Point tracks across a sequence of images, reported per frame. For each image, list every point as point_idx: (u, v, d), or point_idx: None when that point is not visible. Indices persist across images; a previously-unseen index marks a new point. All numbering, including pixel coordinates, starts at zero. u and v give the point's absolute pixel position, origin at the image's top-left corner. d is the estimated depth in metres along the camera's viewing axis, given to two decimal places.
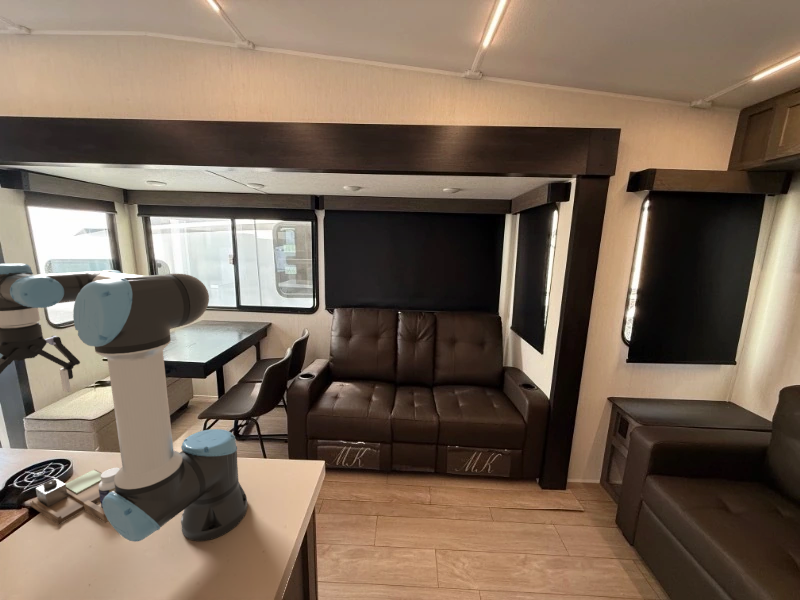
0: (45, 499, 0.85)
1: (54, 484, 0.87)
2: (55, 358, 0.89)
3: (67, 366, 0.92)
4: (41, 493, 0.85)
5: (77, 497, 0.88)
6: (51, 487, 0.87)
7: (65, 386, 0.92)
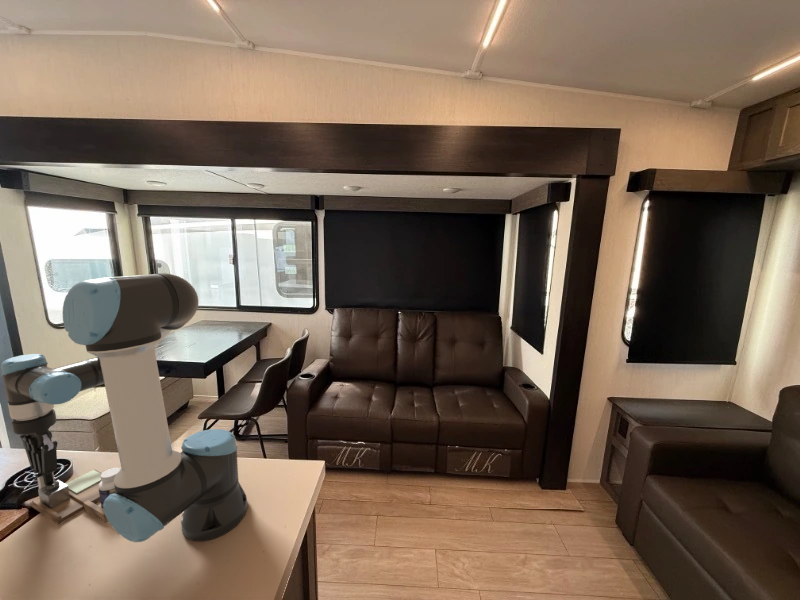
0: (48, 501, 0.85)
1: (57, 485, 0.87)
2: (38, 460, 0.85)
3: (39, 472, 0.86)
4: (44, 495, 0.85)
5: (77, 497, 0.88)
6: (54, 488, 0.86)
7: None
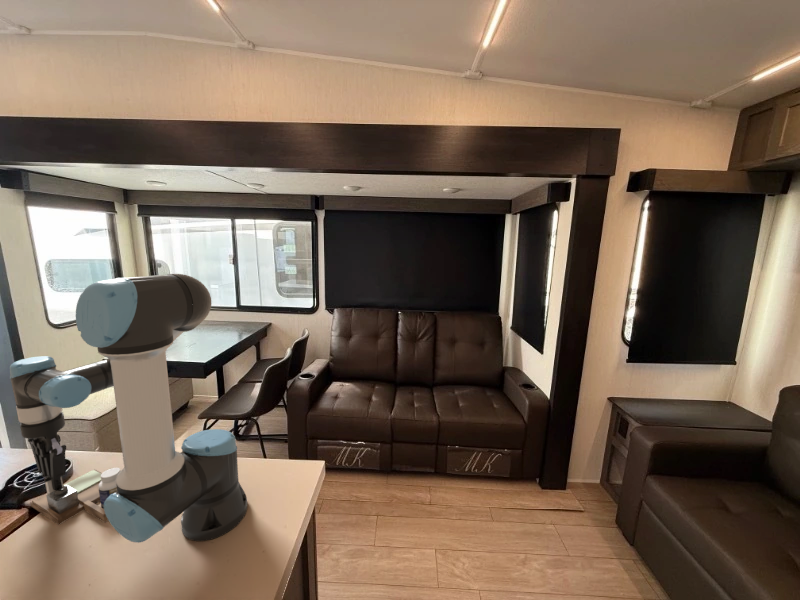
0: (56, 506, 0.83)
1: (65, 491, 0.85)
2: (46, 464, 0.83)
3: (48, 476, 0.84)
4: (52, 500, 0.83)
5: None
6: (62, 494, 0.85)
7: None
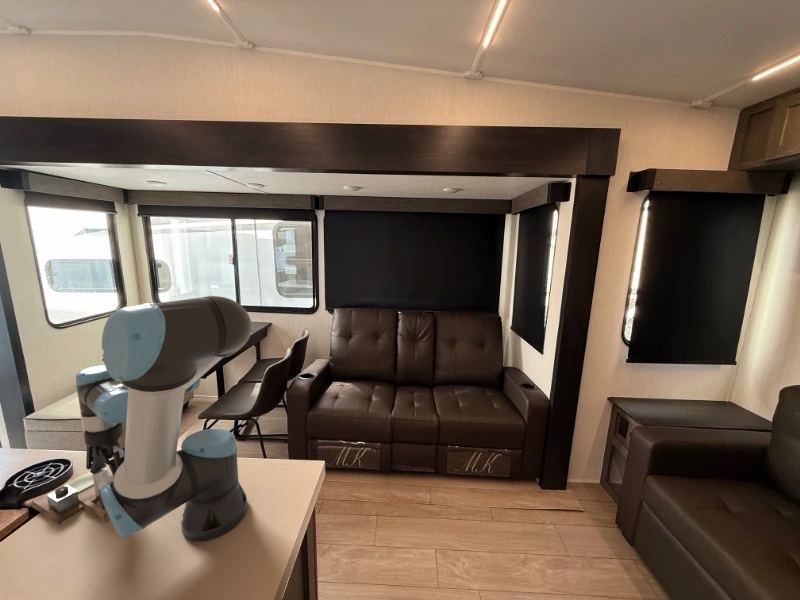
0: (57, 506, 0.83)
1: (66, 491, 0.85)
2: (112, 471, 0.84)
3: None
4: (52, 500, 0.83)
5: None
6: (63, 494, 0.84)
7: None
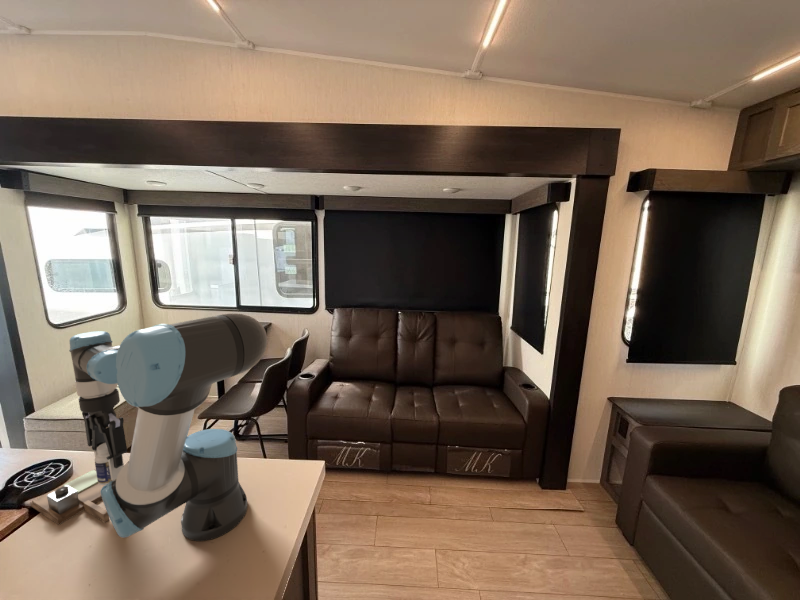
0: (57, 506, 0.83)
1: (66, 491, 0.85)
2: (106, 440, 0.82)
3: (110, 454, 0.83)
4: (52, 500, 0.83)
5: None
6: (63, 494, 0.84)
7: None
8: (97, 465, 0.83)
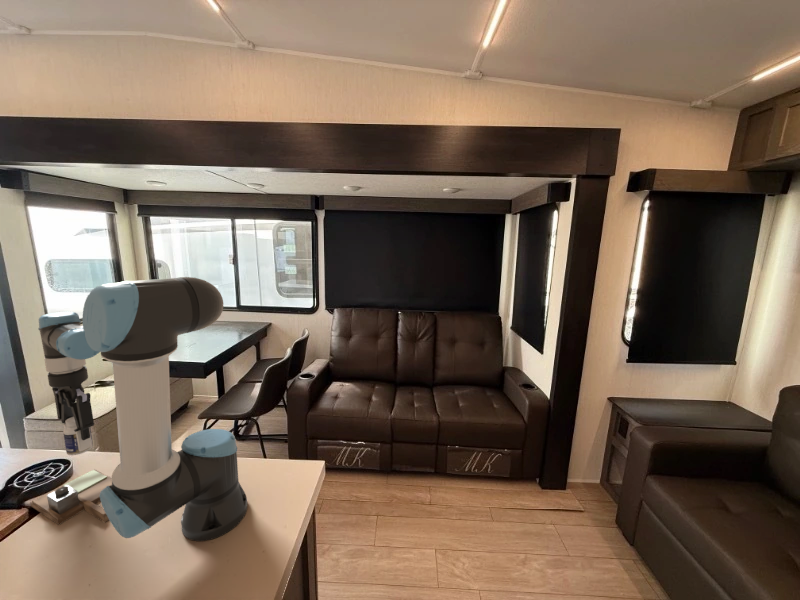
0: (57, 506, 0.83)
1: (66, 491, 0.85)
2: (74, 414, 0.88)
3: (77, 427, 0.89)
4: (52, 500, 0.83)
5: None
6: (63, 494, 0.84)
7: None
8: (65, 436, 0.89)
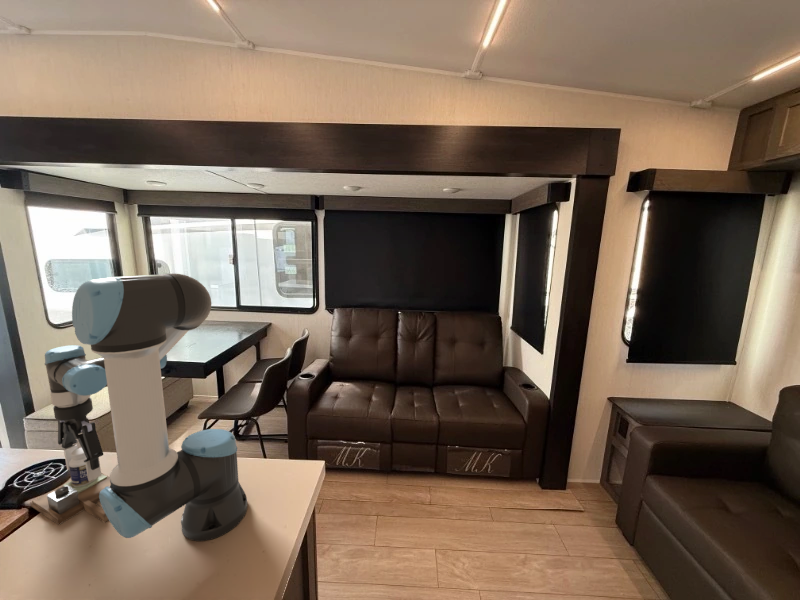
0: (57, 506, 0.83)
1: (66, 491, 0.85)
2: (82, 444, 0.89)
3: (87, 457, 0.89)
4: (52, 500, 0.83)
5: None
6: (63, 494, 0.84)
7: None
8: (71, 469, 0.91)
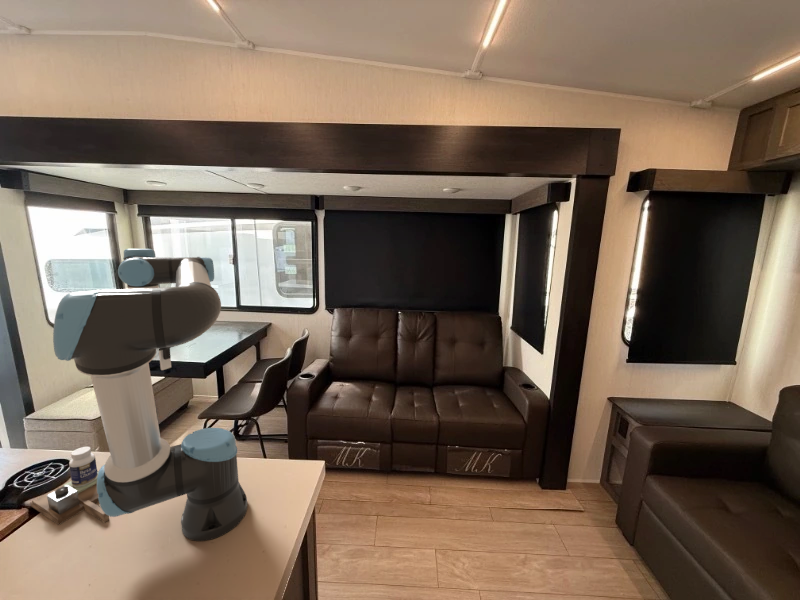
0: (57, 506, 0.83)
1: (66, 491, 0.85)
2: None
3: None
4: (52, 500, 0.83)
5: None
6: (63, 494, 0.84)
7: None
8: (71, 469, 0.91)
